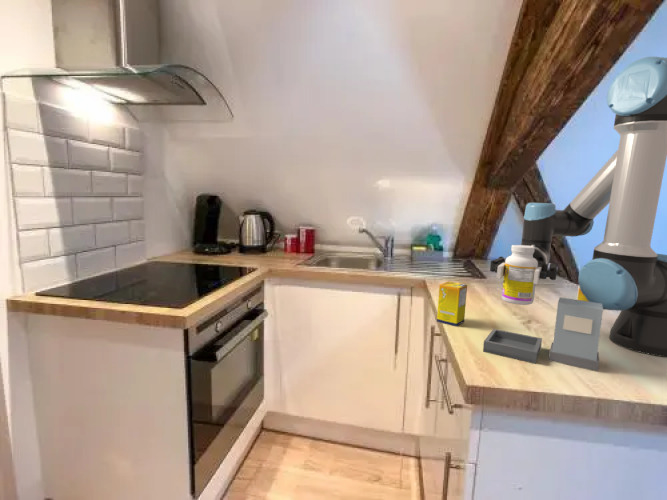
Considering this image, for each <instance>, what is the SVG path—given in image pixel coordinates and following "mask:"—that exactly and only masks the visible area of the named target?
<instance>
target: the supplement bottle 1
mask: <svg viewBox="0 0 667 500" xmlns="http://www.w3.org/2000/svg"><path fill="white" fill-rule="evenodd" d="M534 250H535V247H533V246H525V245H521V244H512V245H511V255H509V256H507V257H505V258H506V261H505V270H504V276H503V279H502V280H503V281H502V291H501V299H502V300H503V301H505V302H506V303H509V304H512V305H521V306H527V305H528V306H529V305H532V304H533V303H534V300H535V292H536V284H534V283H533V280H534V272H535V270H536V269H537V267H538V262H537V260H536V259H535V258H533V254H534Z"/></svg>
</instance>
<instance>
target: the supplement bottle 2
mask: <svg viewBox="0 0 667 500" xmlns="http://www.w3.org/2000/svg"><path fill="white" fill-rule="evenodd" d="M575 300H582V301H588V300H587V299H586V297H585V295H583V293H582V292H581V290H580V287H579V285H578V286H577V292H576V299H575ZM588 302H589V301H588Z"/></svg>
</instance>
